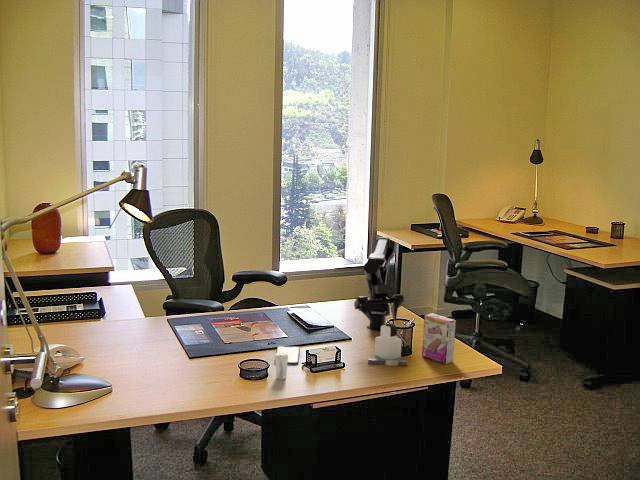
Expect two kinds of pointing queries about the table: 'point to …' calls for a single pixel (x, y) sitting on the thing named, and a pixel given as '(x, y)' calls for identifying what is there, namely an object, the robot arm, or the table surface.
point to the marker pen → (387, 362)
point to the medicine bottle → (388, 343)
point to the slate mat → (392, 359)
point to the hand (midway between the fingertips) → (383, 321)
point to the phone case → (290, 354)
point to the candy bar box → (438, 338)
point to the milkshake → (281, 364)
